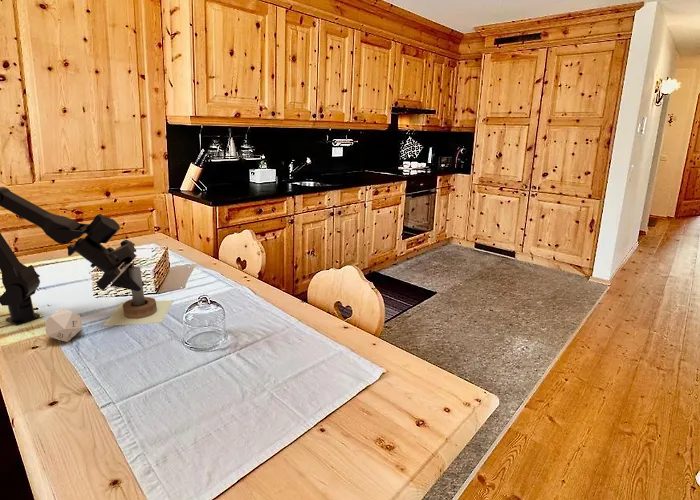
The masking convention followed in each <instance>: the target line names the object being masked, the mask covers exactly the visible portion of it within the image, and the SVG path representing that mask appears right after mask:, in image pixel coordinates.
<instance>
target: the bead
mask: <svg viewBox="0 0 700 500" xmlns="http://www.w3.org/2000/svg"><path fill="white" fill-rule="evenodd" d="M144 299H145V305H143V306H138V307H134V305H133V298H131V299H129V300H126V301H124V302H125V303H124V304H123V311H124V316H125V317H126V318H129V319H139V318H144V317H148V316H150V315H153V314H154V313H155V312H156V311H157V306H156V301H157V300H156V299H155V298H154V297H151V296H144Z"/></svg>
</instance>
